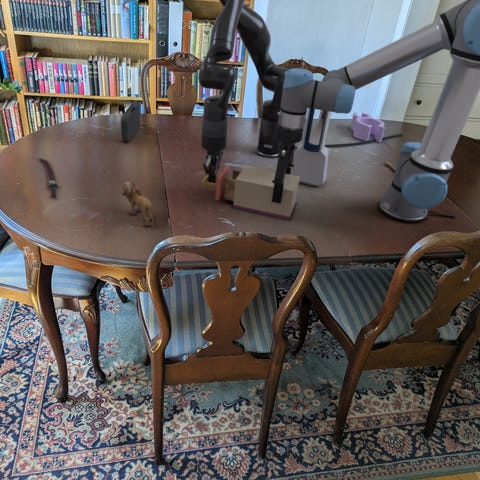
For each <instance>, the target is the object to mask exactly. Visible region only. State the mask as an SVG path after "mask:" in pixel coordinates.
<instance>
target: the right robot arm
mask: <svg viewBox="0 0 480 480" xmlns="http://www.w3.org/2000/svg"><path fill="white" fill-rule="evenodd" d="M443 50H446V51H449V53H448V54H449V55H450V58H451V60H452V62H451V66H450V68H449V71H448V74H447V76H446V78H445V81H444V84H443V86H442V88H441V91H440V94H439V96H438V99H437V102H436V103H435V106H434V109H433V112H432V114H431V116H430V120H429V123H428V124H427V128H426V129H425V130H426V131H425V133H424V135H423V138H422V141H421V142H416V141H407V142H405V143H404V144H402V147H401V150H400V151H399V156H398V160H397V163H396V166H395V167H396V170H395V171H394V173H393V177H392V180H391V182H390V183H391V184H390V186H389V187H388V188H387V190H386V192H385V193H383V196H382V197H381V198H380V201H379V204H378V208H379V210H380V211H381V213H382V214H384V215H385V216H386V217H388V218H391V219H393V220H396V221H399V222H402V223H403V222H404V223H410V224H411V223H420V222H423V221H425V220H426V218H427V216H428V213H431V214H435V215H438V216H442V217H448V218H455V217H456V215H455V214H448V213H441V212H438V211H435V210H432V209H431V208H434V207H436V206H438V205H439V204H441V203H442V202H443V201H444V200H445V199H446V197H447V194H448V184H447V182H448V180H449V177H450V175H451V174H452V171H453V168H454V163H453V161H452V159H451V158H452V156H453V153H454V151H455V148H456V146H457V144H458V142H459V140H460V137H461V134H462V133H463V130H464V128H465V126H466V123H467V120H468V118H469V116H470V113H471V111H472V109H473V108H474V104H475V102H476V100H477V97H478V95H479V93H480V0H464V1H463V2H461V3H459V4H457V5H455V6H453V7H451V8H449V9H448V10H446V11H444V12H443V13H440V14H438V15H437V16H436V18H435V20H434V21H433V22H431V23H429V24H427V25H425V26H423V27H421V28H419V29H417V30H414V31H413V32H411V33H409V34H407V35H405V36H402V37H401V38H399V39H397V40H395V41H393V42H390V43H389V44H387V45H384V46H383V47H381V48H379V49H377V50H374V51H373V52H371V53H369V54H367V55H365V56H362V57H361V58H358V59H357V60H355V61H352V62H350V63H349V64H347V65H345V66H343V67H340V68H338V69H331V70H330V71H328V72H327V73H325V75H324V76H323V77H322V80H317V79H314V74H313V72H312V71H311V70H308V69H305V68H301V69H299V68H300V67H299V68H297V67H296V68H293V69H289V70H288V71H287V72H286V75H285V80H284V85H283V92H282V100H281V107H280V112H278V113H277V115H279V116H280V117H279V122H278V123H279V125H278V128H277V135H276V137H277V139H279V140H281V141H282V142H283V143H282V146H280V151H279V156H278V159H277V162H276V163H277V164H276V169H275V172H276V173H275V178H274V180H272V183H274V189H273V196H272V202H275V203H279V204H280V203H281V199H282V192H283V186H284V177H285V174H290V173H291V167H294V164H292V163H293V159H294V155H295V150H296V149H295V146H296V144H299V143H300V142H302V141H303V137H304V132H305V126H306V120H307V114H308V108H311V109H315V110H318V111H324V112H325V111H329V112H331V113H335V114H344V115H345V114H347V115H348V114H350V113H351V112H352V110H353V106H354V102H355V96H356V90H357V91H358V90H359V89H361V88H364V87H365V86H367V85H370V84H372V83H374V82H376V81H378V80H380V79H383V78H385V77H387V76H389V75H392V74H393V73H395V72H397V71H400V70H402V69H404V68H406V67H408V66H411V65H414V63H415V64H416V62H419V61H421V60H424V59H426V58H428V57H429V56H432V55H434V54H436V53H439V52H441V51H443Z"/></svg>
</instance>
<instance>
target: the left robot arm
mask: <svg viewBox="0 0 480 480" xmlns="http://www.w3.org/2000/svg"><path fill="white" fill-rule="evenodd" d="M218 1H219V2H220V4H221V5H222V7H223V8H222V9H221V11H220V12H219V14H218V15H217V17H216V19H215V20H214V23H213V25H212V26H211V27H212V28H211V32H210V39H209V43H208V49H207V52H206V55H205V57H204V59H203V60H202V63H201V64H200V67H199V70H198V75H197V79H198V83H199V85H200V86H201V87H202V88H204V89H209V90H217V91H218V90H219V91H221V93H220V94H216V95H210V96H207V97H205V99H204V100H203V116H202V117H203V118H202V124H201V125H202V126H201V147H202V149H204V150H205V151H206V153H205V162H203V164H202V166H203V170H204V173H205V175H206V176H207V175H208V182H211V183H215V184H216V182H217V178H216V175H217V174H218V170H219V169H220V167H221V166H220V165H221V162H222V158H223V154H224V152H223V151H224V150H225V149H226V148H227V140H228V110H229V109H228V108H229V101H230V97H231V95H232V91H233V88H234V86H235V83H236V80H237V71H236V69H235V67H234V66H233V65H232V64H228V63H221V62H225V61H226V62H227V61H230V60H231V58H232V57H233V56H234V55H233V54H234V48H235V42H236V34H237V33H238V37H239V38H240V41H241V42H242V44H243V46H244V47H245V49H246V51H247V53H248V55H249V57H250V59H251V62H252V63H253V65H254V67H255V71H256V74H257V76H258V79H259V81H260V84H261V86H262V87H263V88H264V89H266V90H267V91H269V92H271V93H273V95H272V99H266V100H263V102H262V105H261V114H260V123H259V131H258V138H257V139H258V140H257V149H256V153H257V154H258V155H259V156H262V157H264V158H265V157H266V158H277V157H279V151H280V146H282V143H283V142H282V141H281V140H279V139H277V137H276V135H277V128H278V125H279V123H278V122H279V117H280V116H279V115H277V113H278V112H280V107H281V100H282V92H283V85H284V80H285V75H286V72H287V71H288V70H289V69H288V67H287V68H286V67H284V66H280V65H278V64H276V63H275V61H273V59H272V57H271V55H270V48H271V45H272V44H271V43H272V37H271V34H270V30H269V29H268V26H267V24H266V22H265V20H264V18H263V17H262V16H261V15H260V14H259V13H258V12H256V11H255V10H254V9H252V8H251V7H250V6H248V5H247V4H245V2H246V0H218ZM401 136H403V134H402V133H398V134H392V135H388V136H383V137H382V140H387V139H392V138H396V137H401ZM382 140H381V141H382ZM376 141H377V140H376V139H375V138H374V139H369V140H368V141H364V140H363V141H358V142H349V143H337V144H336V143H335V144H325V145H324V147H326V148H331V147H332V148H333V147H345V146H347V147H348V146H356V145H364V144H369V143H374V142H376ZM298 147H299V146H296V145H295V149H294V150H297V148H298Z"/></svg>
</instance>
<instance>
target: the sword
mask: <svg viewBox="0 0 480 480" xmlns="http://www.w3.org/2000/svg"><path fill="white" fill-rule="evenodd" d="M40 161H41V162H42V163H43V165H44V166H45V169H46V173H47V176H48V185H47V188H50V198H56V197H57V189H56V188H57V187H59V185H58V184H57V183H56V180H55V176H54V172H53V169H52V167H51V164H50V163H49V161H48V160H46V159H43V158H40Z"/></svg>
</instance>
